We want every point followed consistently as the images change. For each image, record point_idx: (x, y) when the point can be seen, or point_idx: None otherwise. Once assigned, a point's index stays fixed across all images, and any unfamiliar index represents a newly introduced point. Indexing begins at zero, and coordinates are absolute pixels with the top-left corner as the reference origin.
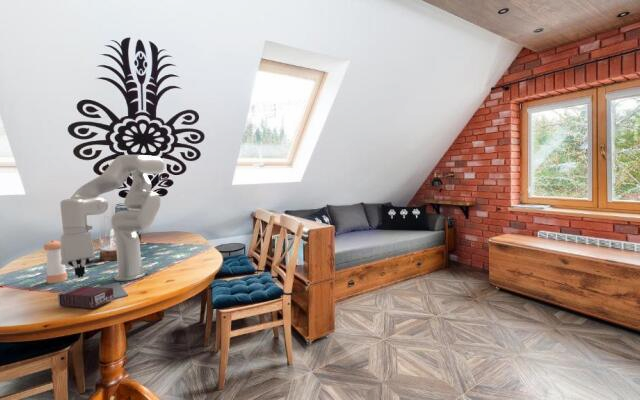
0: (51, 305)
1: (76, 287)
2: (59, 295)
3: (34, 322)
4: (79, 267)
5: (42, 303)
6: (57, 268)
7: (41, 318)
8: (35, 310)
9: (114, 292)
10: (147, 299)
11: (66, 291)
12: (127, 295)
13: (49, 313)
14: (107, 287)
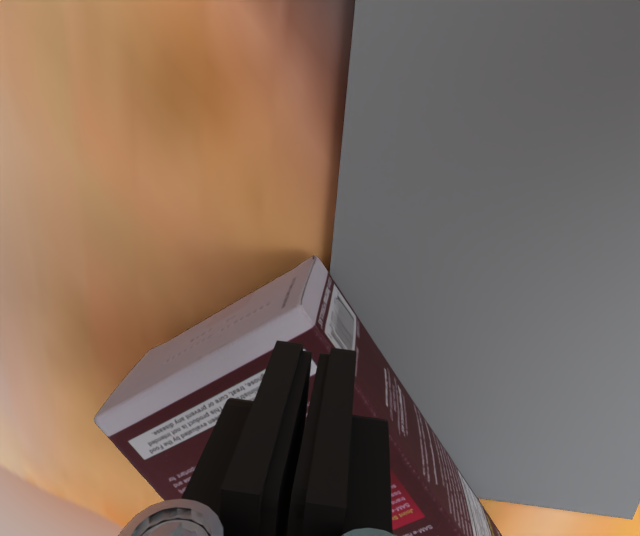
0: (104, 232)
1: (271, 344)
2: (113, 434)
3: (36, 481)
4: (294, 489)
5: (27, 96)
6: None
7: (65, 451)
8: (2, 255)
9: (592, 381)
10: None
11: (168, 407)
12: (625, 512)
13: (102, 404)
14: (633, 146)
